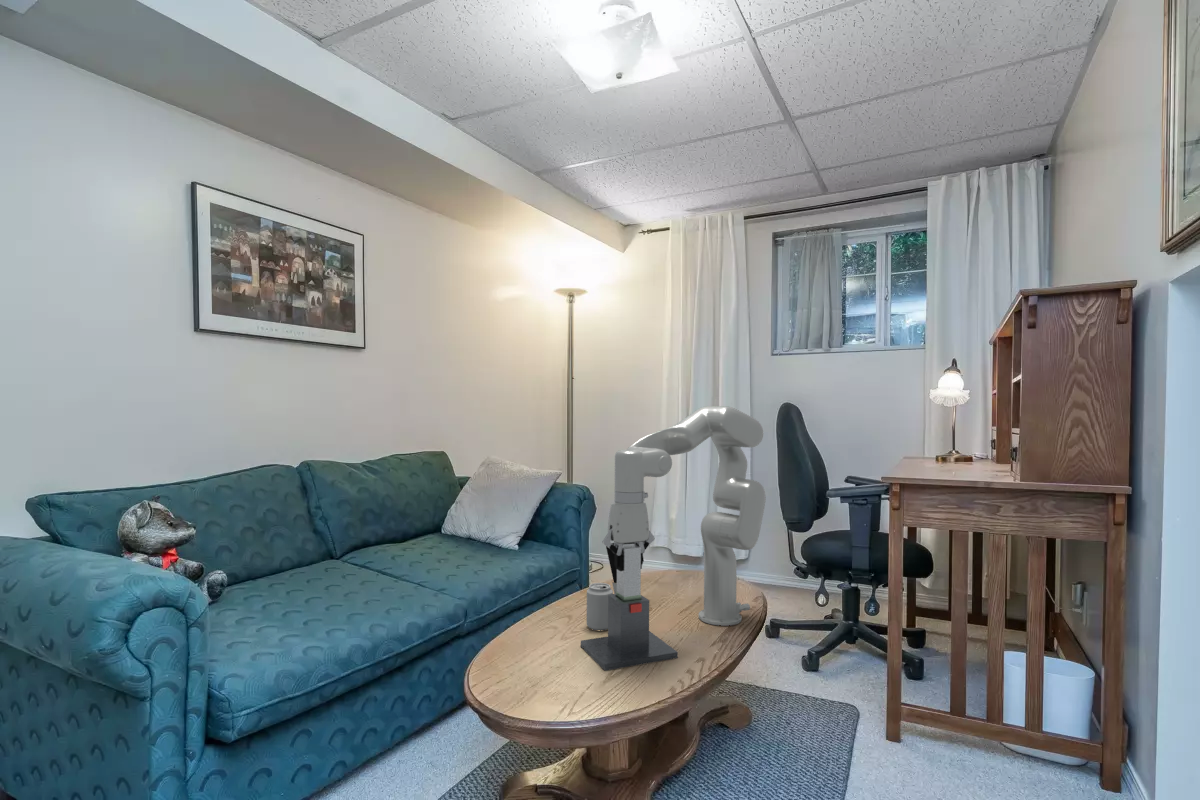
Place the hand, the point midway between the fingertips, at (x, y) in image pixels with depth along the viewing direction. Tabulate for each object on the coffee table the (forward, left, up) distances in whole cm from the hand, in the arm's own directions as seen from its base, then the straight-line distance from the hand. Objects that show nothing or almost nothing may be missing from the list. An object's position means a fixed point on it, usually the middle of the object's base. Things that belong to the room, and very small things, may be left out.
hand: (628, 568), depth 157 cm
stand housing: (0, 0, -21) cm, 21 cm away
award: (-16, -36, -22) cm, 45 cm away
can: (0, -19, -22) cm, 29 cm away
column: (0, 0, -14) cm, 14 cm away
